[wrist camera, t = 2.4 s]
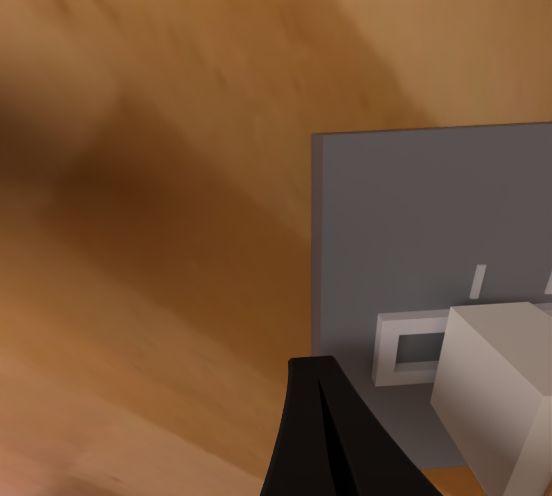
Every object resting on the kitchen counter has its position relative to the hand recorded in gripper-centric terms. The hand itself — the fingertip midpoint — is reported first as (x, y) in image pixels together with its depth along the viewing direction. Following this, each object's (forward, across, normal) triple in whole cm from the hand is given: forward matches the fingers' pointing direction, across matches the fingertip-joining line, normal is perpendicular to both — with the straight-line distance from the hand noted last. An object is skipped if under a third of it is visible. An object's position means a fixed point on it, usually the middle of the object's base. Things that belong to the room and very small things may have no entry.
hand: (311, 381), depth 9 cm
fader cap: (+1, -5, 0) cm, 6 cm away
